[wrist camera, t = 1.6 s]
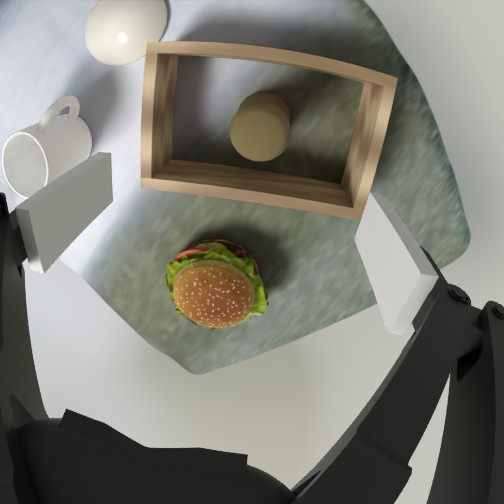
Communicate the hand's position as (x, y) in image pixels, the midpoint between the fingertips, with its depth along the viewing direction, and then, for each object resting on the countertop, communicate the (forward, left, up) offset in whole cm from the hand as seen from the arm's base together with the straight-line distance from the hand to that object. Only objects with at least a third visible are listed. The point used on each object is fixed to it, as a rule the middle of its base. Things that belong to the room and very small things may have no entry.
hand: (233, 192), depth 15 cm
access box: (-1, +1, -22) cm, 22 cm away
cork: (-1, +1, -22) cm, 22 cm away
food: (+22, -2, -22) cm, 32 cm away
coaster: (-12, -17, -22) cm, 30 cm away
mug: (+2, -24, -22) cm, 33 cm away
